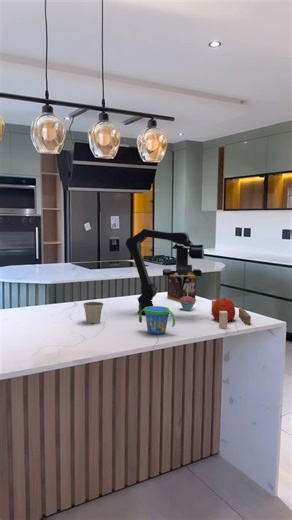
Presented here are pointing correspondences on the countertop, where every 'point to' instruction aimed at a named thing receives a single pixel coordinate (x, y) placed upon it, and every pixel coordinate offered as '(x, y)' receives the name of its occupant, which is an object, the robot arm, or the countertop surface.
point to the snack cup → (156, 318)
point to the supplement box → (174, 287)
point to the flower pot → (93, 311)
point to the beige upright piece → (221, 317)
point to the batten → (245, 316)
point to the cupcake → (187, 302)
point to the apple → (223, 308)
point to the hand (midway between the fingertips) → (181, 290)
